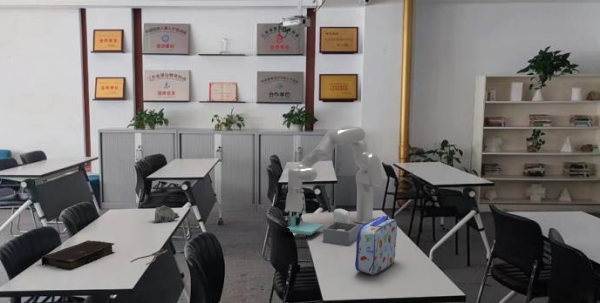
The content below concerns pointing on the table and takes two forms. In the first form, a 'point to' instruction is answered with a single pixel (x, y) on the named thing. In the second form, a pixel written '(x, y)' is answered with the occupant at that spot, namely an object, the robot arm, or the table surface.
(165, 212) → the mineral rock
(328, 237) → the tub
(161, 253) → the pliers
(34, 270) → the table surface
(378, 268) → the lunch box
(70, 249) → the diary
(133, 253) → the table surface
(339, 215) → the photo printer
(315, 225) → the lid
